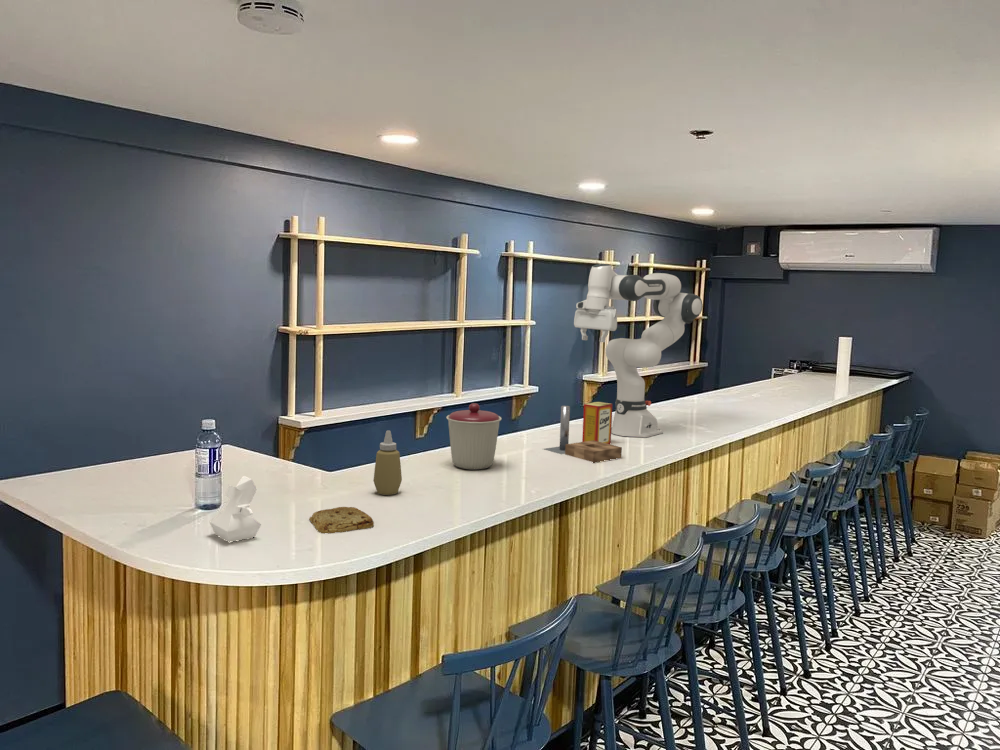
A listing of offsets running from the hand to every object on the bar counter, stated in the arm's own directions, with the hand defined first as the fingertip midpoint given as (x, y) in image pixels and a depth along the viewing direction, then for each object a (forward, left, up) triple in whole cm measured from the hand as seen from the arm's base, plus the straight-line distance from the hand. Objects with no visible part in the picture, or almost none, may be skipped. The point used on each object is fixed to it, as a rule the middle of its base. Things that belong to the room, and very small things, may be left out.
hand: (593, 341), depth 307 cm
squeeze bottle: (+106, +25, -39) cm, 116 cm away
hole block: (+21, +23, -39) cm, 50 cm away
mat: (+23, +10, -39) cm, 46 cm away
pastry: (+130, +43, -40) cm, 142 cm away
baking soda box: (+4, +8, -39) cm, 40 cm away
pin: (+23, +10, -38) cm, 46 cm away
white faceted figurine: (+155, +39, -39) cm, 164 cm away
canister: (+66, +12, -39) cm, 78 cm away
